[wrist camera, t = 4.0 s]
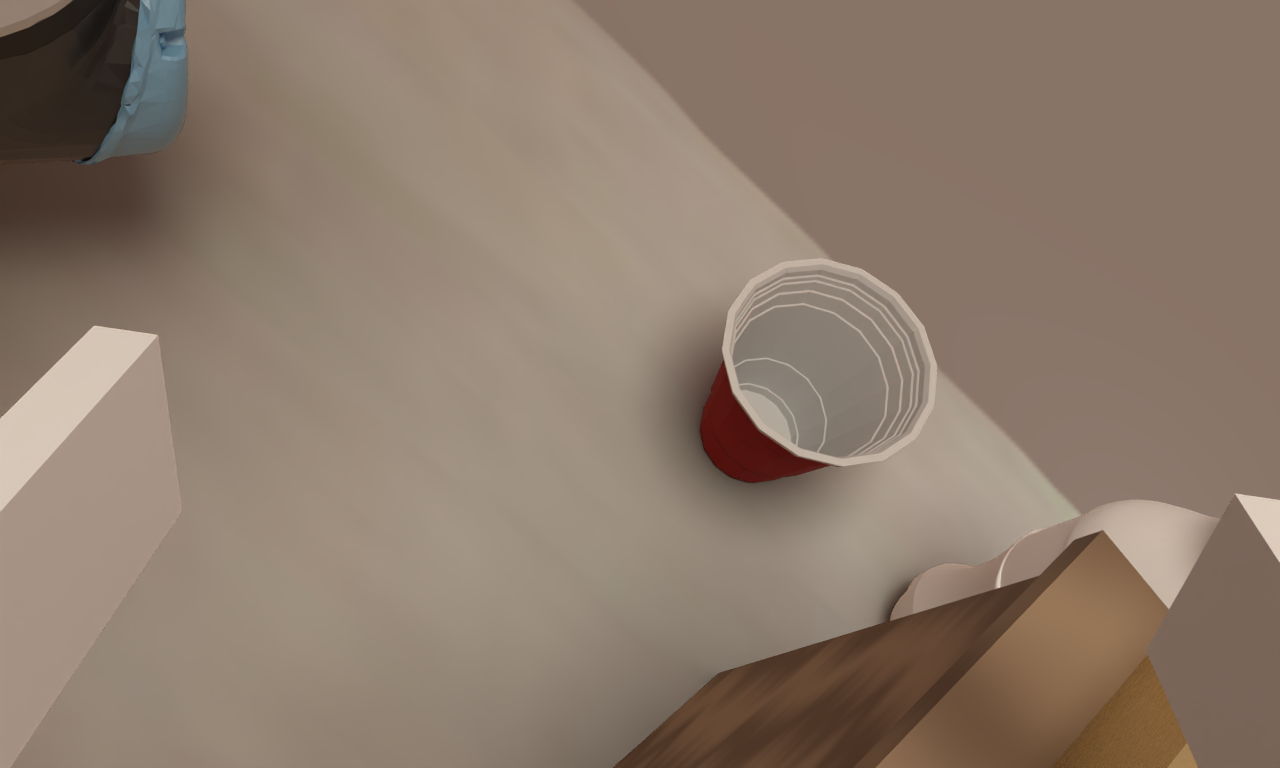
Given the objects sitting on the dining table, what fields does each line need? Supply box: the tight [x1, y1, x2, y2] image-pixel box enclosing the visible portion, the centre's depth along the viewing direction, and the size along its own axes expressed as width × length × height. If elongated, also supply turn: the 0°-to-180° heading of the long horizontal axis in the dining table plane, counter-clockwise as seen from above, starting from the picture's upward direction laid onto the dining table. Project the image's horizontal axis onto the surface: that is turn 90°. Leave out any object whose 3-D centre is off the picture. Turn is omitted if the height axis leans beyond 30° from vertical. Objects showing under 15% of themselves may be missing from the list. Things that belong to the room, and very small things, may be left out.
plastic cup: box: [700, 258, 937, 483], centre depth 55 cm, size 11×11×12 cm
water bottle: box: [890, 500, 1221, 621], centre depth 48 cm, size 7×7×25 cm
